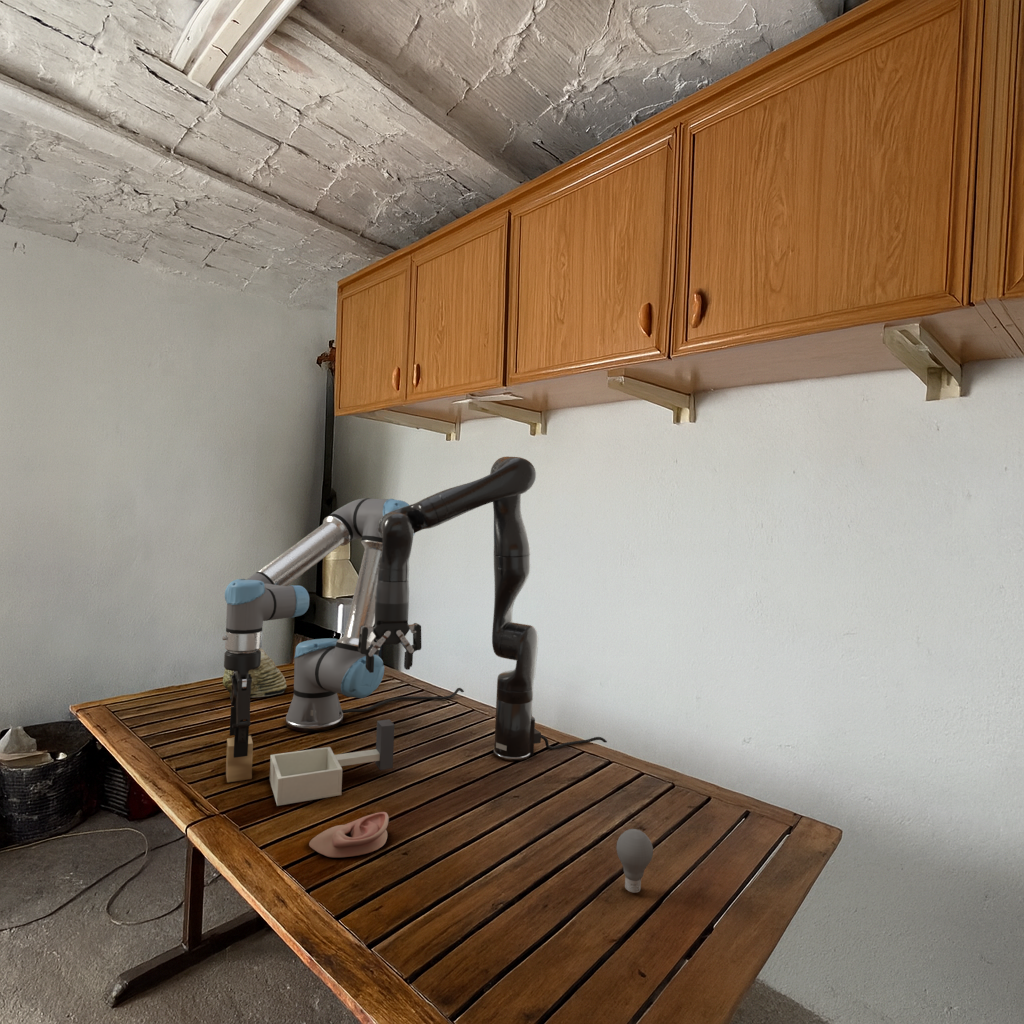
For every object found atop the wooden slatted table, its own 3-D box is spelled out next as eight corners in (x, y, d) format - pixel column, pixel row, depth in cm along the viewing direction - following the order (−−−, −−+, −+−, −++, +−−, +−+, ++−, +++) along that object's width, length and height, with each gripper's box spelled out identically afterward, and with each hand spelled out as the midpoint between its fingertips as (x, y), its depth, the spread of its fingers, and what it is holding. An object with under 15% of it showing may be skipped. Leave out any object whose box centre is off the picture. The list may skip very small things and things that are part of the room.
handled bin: (382, 762, 152) (384, 713, 152) (398, 785, 141) (400, 731, 141) (269, 779, 141) (271, 726, 140) (276, 806, 129) (279, 747, 129)
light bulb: (610, 879, 108) (613, 822, 108) (644, 879, 109) (647, 822, 109) (619, 902, 102) (622, 840, 102) (655, 901, 103) (658, 840, 103)
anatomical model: (300, 830, 112) (331, 801, 124) (300, 852, 112) (331, 821, 124) (370, 841, 110) (395, 810, 121) (369, 864, 110) (395, 831, 121)
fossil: (218, 695, 195) (220, 647, 195) (278, 685, 208) (279, 640, 207) (228, 703, 189) (230, 653, 188) (289, 692, 201) (290, 645, 201)
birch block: (249, 770, 145) (250, 735, 145) (251, 778, 141) (253, 743, 140) (225, 773, 143) (227, 738, 143) (227, 782, 138) (228, 746, 138)
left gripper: (221, 639, 150) (217, 728, 151) (228, 664, 128) (222, 769, 128) (255, 637, 154) (251, 724, 154) (267, 662, 132) (262, 763, 132)
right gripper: (365, 603, 138) (362, 677, 138) (427, 601, 145) (424, 672, 145) (357, 598, 144) (353, 668, 145) (416, 596, 151) (413, 663, 151)
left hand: (238, 745), depth 141 cm, fingers open, 13 cm apart
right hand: (389, 670), depth 145 cm, fingers open, 8 cm apart
